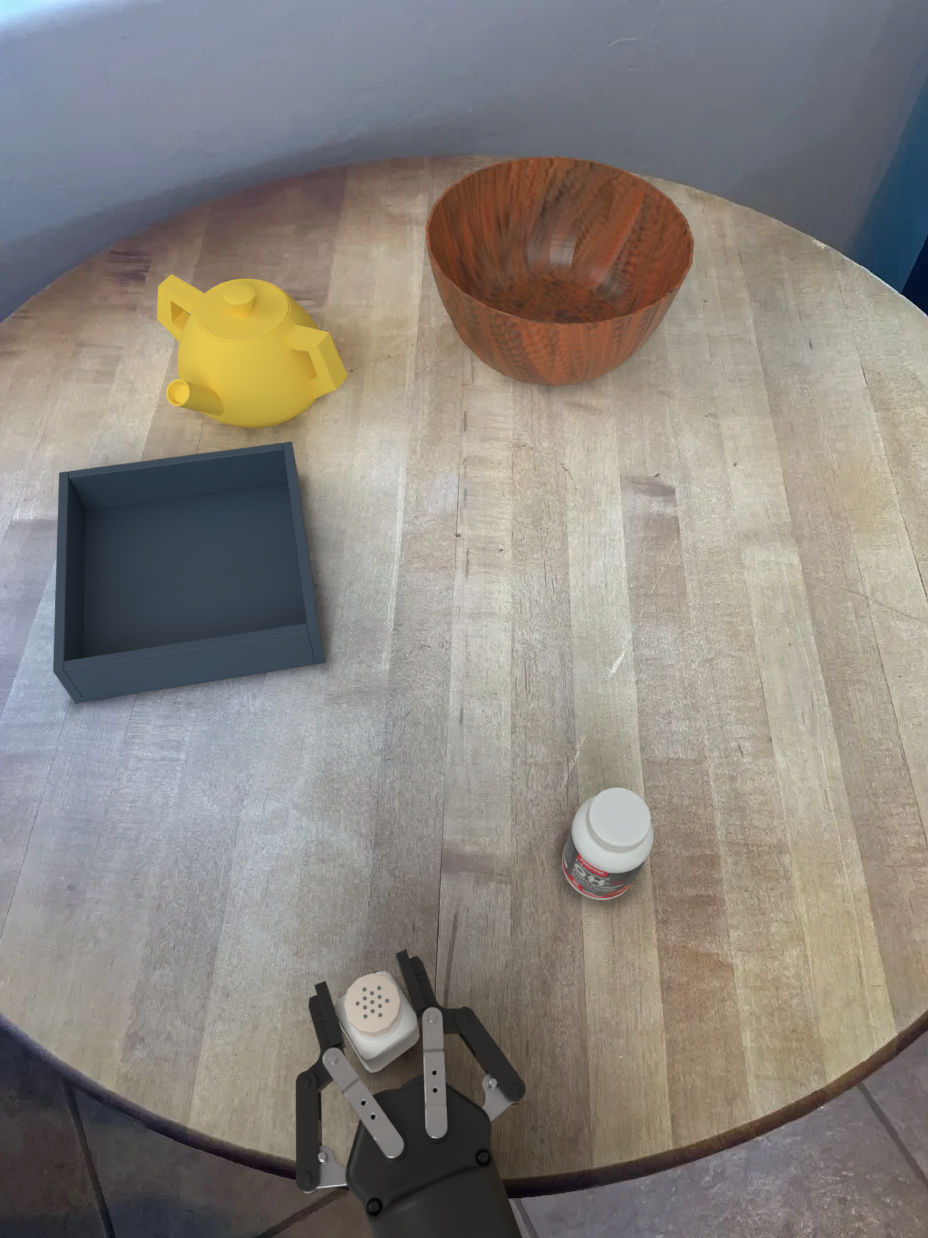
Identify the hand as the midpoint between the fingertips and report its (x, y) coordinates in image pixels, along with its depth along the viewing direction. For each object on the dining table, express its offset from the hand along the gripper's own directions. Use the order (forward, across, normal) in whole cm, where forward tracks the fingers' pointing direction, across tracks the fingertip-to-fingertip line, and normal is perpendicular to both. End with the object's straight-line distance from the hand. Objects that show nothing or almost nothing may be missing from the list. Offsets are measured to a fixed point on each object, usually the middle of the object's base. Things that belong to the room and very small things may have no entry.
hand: (361, 971), depth 59 cm
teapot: (+56, -6, +6) cm, 57 cm away
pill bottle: (+2, -18, +6) cm, 19 cm away
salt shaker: (-3, 0, +6) cm, 7 cm away
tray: (+37, +3, +6) cm, 37 cm away
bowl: (+55, -38, +6) cm, 67 cm away
